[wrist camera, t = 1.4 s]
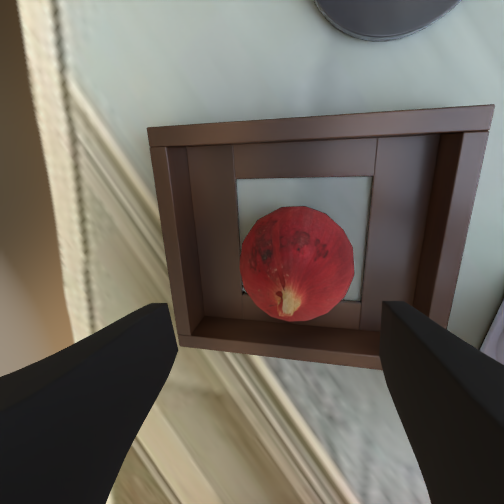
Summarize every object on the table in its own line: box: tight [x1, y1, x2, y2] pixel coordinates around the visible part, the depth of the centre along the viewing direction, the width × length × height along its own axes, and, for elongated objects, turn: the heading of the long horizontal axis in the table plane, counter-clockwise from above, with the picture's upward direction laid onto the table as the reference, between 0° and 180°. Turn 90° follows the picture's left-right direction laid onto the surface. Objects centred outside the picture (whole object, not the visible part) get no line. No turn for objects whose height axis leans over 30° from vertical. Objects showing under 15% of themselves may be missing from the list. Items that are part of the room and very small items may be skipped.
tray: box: [147, 104, 495, 370], centre depth 17 cm, size 16×14×3 cm
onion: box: [240, 206, 354, 322], centre depth 15 cm, size 6×6×8 cm
